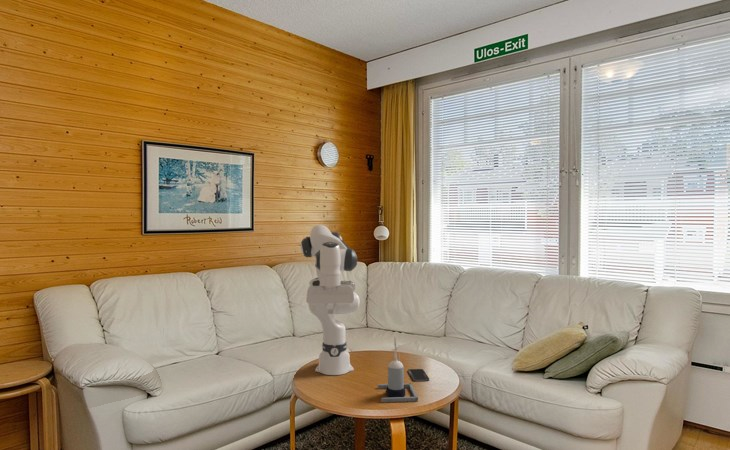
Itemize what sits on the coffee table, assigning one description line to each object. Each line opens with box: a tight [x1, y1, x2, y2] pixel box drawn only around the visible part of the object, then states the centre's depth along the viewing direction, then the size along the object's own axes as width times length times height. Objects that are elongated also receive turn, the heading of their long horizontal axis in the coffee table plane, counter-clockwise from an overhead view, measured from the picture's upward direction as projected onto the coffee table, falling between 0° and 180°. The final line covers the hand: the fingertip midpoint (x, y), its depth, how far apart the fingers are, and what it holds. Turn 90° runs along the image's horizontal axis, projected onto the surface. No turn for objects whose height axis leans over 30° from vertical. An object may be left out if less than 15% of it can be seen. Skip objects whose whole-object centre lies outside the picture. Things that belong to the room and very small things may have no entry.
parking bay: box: [377, 383, 419, 403], centre depth 195 cm, size 16×15×2 cm
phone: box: [407, 368, 430, 382], centre depth 218 cm, size 8×1×15 cm
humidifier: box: [385, 336, 406, 398], centre depth 195 cm, size 8×8×25 cm
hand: (330, 313), depth 192 cm, fingers closed
